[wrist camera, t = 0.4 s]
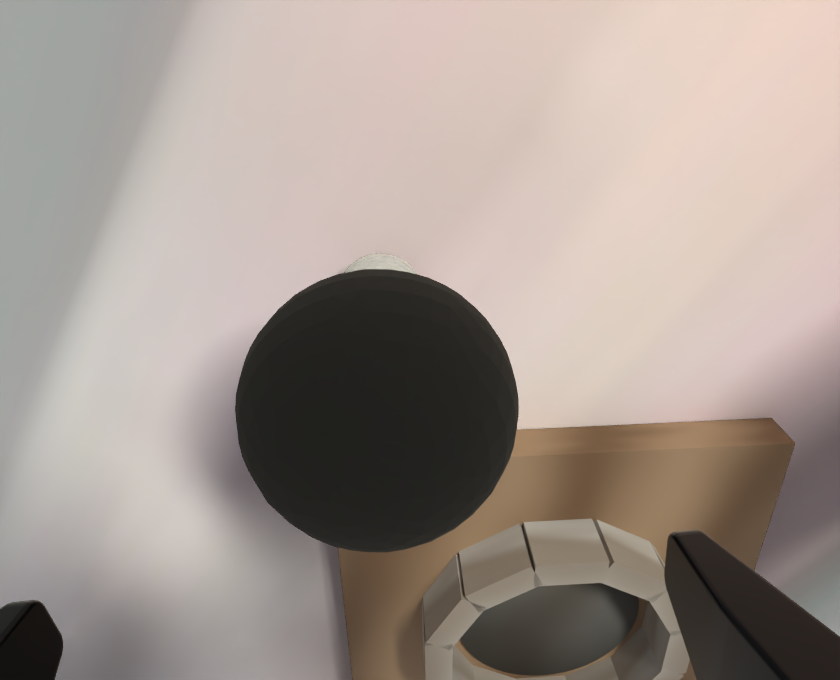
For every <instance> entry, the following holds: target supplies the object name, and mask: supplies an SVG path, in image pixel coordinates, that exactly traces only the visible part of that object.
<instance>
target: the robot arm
mask: <svg viewBox="0 0 840 680" xmlns="http://www.w3.org/2000/svg"><path fill="white" fill-rule="evenodd" d="M664 579H665V585H666V589H667V592H668V595H669V598H670V601H671V604H672V607H673V610H674V613H675V616H676V619H677V622H678V625H679V628H680V631H681V634H682V637H683V640H684V643H685V646H686V649H687V652H688V655H689V658H690V661H691V665H692V668H693V671H694V674H695V677H696V680H840V636H838V635H837V634H836V633H834V632H833V631H832V630H830V629H829V628H828V627H826V626H825V625H824V624H823V623H821V622H820V621H819V620H817V619H816V618H815V617H813V616H812V615H811V614H810V613H808V612H807V611H806V610H804V609H803V608H802V607H800V606H799V605H798V604H796V603H795V602H794V601H793V600H791V599H790V598H789V597H787V596H786V595H785V594H783V593H782V592H781V591H780V590H778V589H777V588H776V587H774V586H773V585H772V584H770V583H769V582H768V581H766V580H765V579H764V578H763V577H761V576H760V575H759V574H757V573H756V572H755V571H753V570H752V569H751V568H750V567H748V566H747V565H746V564H744V563H743V562H742V561H740V560H739V559H738V558H736V557H735V556H734V555H733V554H731V553H730V552H729V551H727V550H726V549H725V548H723V547H722V546H721V545H720V544H718V543H717V542H716V541H714V540H713V539H712V538H710V537H709V536H708V535H706V534H705V533H704V532H702V531H700V530H685V531H676V532H672V533H670V534H669V536H668V540H667V548H666V559H665V569H664ZM62 651H63V639H62V635H61V633H60V632H59V630H58V628H57V626H56V625H55V623H54V621H53V620H52V618H51V616H50V614H49V613H48V611H47V609H46V608H45V606H44V605H43V603H41V602H40V601H38V600H29V601H20V602H12V603H9V604H7V605H5V606H4V607H2V608H1V609H0V680H55V676H56V673H57V670H58V666H59V663H60V659H61V656H62Z"/></svg>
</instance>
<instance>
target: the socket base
mask: <svg viewBox="0 0 840 680" xmlns="http://www.w3.org/2000/svg"><path fill="white" fill-rule="evenodd" d="M794 446H795V442H794V441H793V440H792V439H791V438H790V437H789V436H788V435H787V434H786V433H785V432H784V431H783V430H782V429H781V428H780V427H779V425H778V424H777V423H776V422H775V421H774V420H773V419H772V418H763V419H741V420H720V421H698V422H677V423H655V424H633V425H612V426H590V427H569V428H547V429H526V430H516V436H515V443H514V447H513V451H512V454H511V457H510V460H509V462H508V464H507V466H506V468H505V470H504V472H503V474H502V476H501V478H500V480H499V481H498V483H497V485H496V487H495V488H494V490H493V492H492V494H491V495H490V496H489V497H488V498H487V499H486V500H485V502H484V503H483V504H482V505H481V506H480V507H479V508H478V509H477V511H476V512H475V513H474V514H473V515H472V516H470V517H469V518H468V519H467V520H465V521H464V522H463V523H462V524H460V525H459V526H458V527H456V528H455V529H454V530H452V531H450V532H448V533H446V534H444V535H442V536H441V537H439V538H437V539H435V540H433V541H431V542H428V543H425V544H422V545H419V546H415V547H412V548H408V549H405V550H399V551H393V552H388V553H386V552H360V551H352V550H347V549H343V548H339V547H338V553H339V562H340V571H341V580H342V589H343V598H344V607H345V616H346V625H347V634H348V644H349V653H350V662H351V671H352V680H696V677H695V674H694V671H693V668H692V665H691V661H690V658H689V655H688V652H687V649H686V646H685V643H684V640H683V637H682V634H681V631H680V628H679V625H678V622H677V619H676V616H675V613H674V610H673V607H672V604H671V601H670V598H669V595H668V592H667V589H666V585H665V579H664V569H665V559H666V548H667V540H668V536H669V534H670V533H672V532H676V531H685V530H700V531H702V532H704V533H705V534H706V535H708V536H709V537H710V538H712V539H713V540H714V541H716V542H717V543H718V544H720V545H721V546H722V547H723V548H725V549H726V550H727V551H729V552H730V553H731V554H733V555H734V556H735V557H736V558H738V559H739V560H740V561H742V562H743V563H744V564H746V565H747V566H748V567H750V568H751V569H752V570H753V571H754V568H755V565H756V562H757V559H758V556H759V553H760V550H761V547H762V544H763V541H764V538H765V535H766V532H767V529H768V526H769V522H770V519H771V516H772V513H773V510H774V507H775V504H776V501H777V498H778V495H779V492H780V489H781V486H782V483H783V480H784V476H785V473H786V470H787V467H788V464H789V461H790V458H791V455H792V452H793V449H794Z"/></svg>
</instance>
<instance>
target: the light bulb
mask: <svg viewBox="0 0 840 680" xmlns="http://www.w3.org/2000/svg"><path fill="white" fill-rule="evenodd" d="M235 412H236V422H237V431H238V440H239V445H240V449H241V453H242V457H243V459H244V461H245V464H246V466H247V468H248V471H249V472H250V474H251V476H252V478H253V479H254V481H255V483H256V484H257V486H258V487H259V489H260V491H261V492H262V494H263V495H264V497H265V499H266V500H267V502H268V503H269V504H270V505H271V506H272V507H273V508H274V509H275V510H276V511H277V512H278V513H280V514H281V515H282V516H283V517H284V518H285V519H286V520H287V521H288V522H289V523H291V524H292V525H294V526H295V527H297V528H298V529H300V530H301V531H303V532H305V533H306V534H308V535H309V536H311V537H312V538H315V539H317V540H320V541H322V542H324V543H327V544H329V545H332V546H335V547H339V548H343V549H347V550H352V551H360V552H386V553H388V552H393V551H399V550H405V549H408V548H412V547H415V546H419V545H422V544H425V543H428V542H431V541H433V540H435V539H437V538H439V537H441V536H442V535H444V534H446V533H448V532H450V531H452V530H454V529H455V528H456V527H458V526H459V525H460V524H462V523H463V522H464V521H465V520H467V519H468V518H469V517H470V516H472V515H473V514H474V513H475V512H476V511H477V509H478V508H479V507H480V506H481V505H482V504H483V503H484V502H485V500H486V499H487V498H488V497H489V496H490V495H491V494H492V492H493V490H494V488H495V487H496V485H497V483H498V481H499V480H500V478H501V476H502V474H503V472H504V470H505V468H506V466H507V464H508V462H509V460H510V457H511V454H512V451H513V447H514V443H515V436H516V429H517V421H518V393H517V387H516V382H515V378H514V374H513V370H512V366H511V363H510V360H509V357H508V354H507V352H506V350H505V348H504V346H503V344H502V342H501V340H500V338H499V337H498V335H497V334H496V332H495V331H494V329H493V328H492V327H491V325H490V324H489V322H488V321H487V319H486V318H485V317H484V316H483V315H482V314H481V313H480V312H479V311H478V310H477V309H476V308H475V307H474V306H473V305H472V304H470V303H469V302H468V301H467V300H466V299H464V298H463V297H462V296H461V295H460V294H458V293H457V292H455V291H454V290H452V289H450V288H449V287H447V286H445V285H443V284H441V283H439V282H437V281H434V280H432V279H430V278H427V277H424V276H420V275H417V274H416V272H415V271H414V269H413V268H412V267H411V266H410V265H409V264H408V263H407V262H405V261H404V260H402V259H401V258H399V257H395V256H392V255H389V254H371V255H368V256H364V257H361V258H360V259H358V260H357V261H355V262H354V263H353V264H351V265H350V266H349V267H348V269H347V270H346V271H345V272H344V273H343V274H338V275H335V276H332V277H329V278H326V279H324V280H321V281H319V282H317V283H315V284H313V285H311V286H309V287H307V288H306V289H304V290H302V291H301V292H299V293H297V294H296V295H294V296H293V297H292V298H291V299H290V300H289V301H288V302H286V303H285V304H284V305H283V306H282V307H281V308H279V309H278V310H277V312H276V313H275V314H274V315H273V316H272V318H271V319H270V320H269V321H268V322H267V324H266V325H265V326H264V327H263V329H262V330H261V331H260V332H259V334H258V335H257V337H256V339H255V340H254V342H253V344H252V345H251V347H250V349H249V352H248V354H247V357H246V359H245V362H244V365H243V369H242V372H241V376H240V380H239V384H238V389H237V393H236V406H235Z"/></svg>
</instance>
